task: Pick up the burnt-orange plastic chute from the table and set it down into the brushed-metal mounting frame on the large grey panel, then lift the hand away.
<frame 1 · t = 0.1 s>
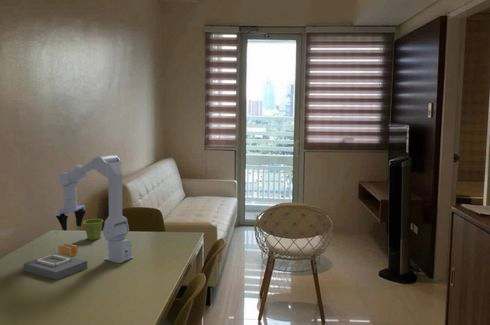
hand: (71, 228, 197), 10 cm above the table, tool pointing down, fingers open, 7 cm apart
large grey panel: (55, 269, 173), on the table
chute: (68, 254, 192), on the table
plant pot: (94, 238, 215), on the table
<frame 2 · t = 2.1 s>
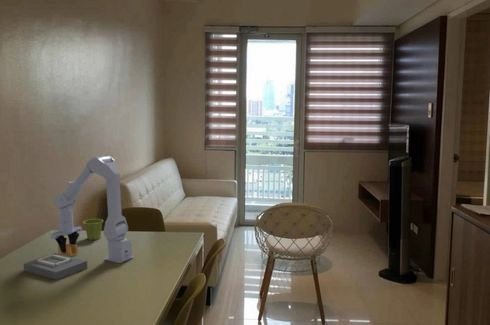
hand: (68, 250, 192), 1 cm above the table, tool pointing down, fingers closed on chute, 4 cm apart
chute: (68, 254, 192), on the table, touching gripper
everything else where it was.
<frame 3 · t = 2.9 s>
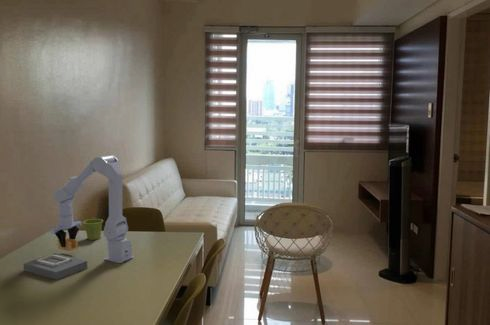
hand: (67, 245, 191), 4 cm above the table, tool pointing down, fingers closed on chute, 4 cm apart
chute: (67, 248, 191), point 2 cm above the table, touching gripper
everything else where it was.
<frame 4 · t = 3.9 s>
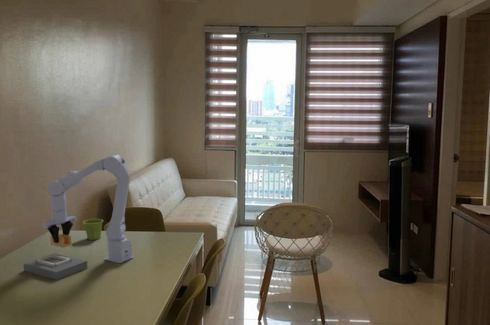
hand: (61, 241, 182), 8 cm above the table, tool pointing down, fingers closed on chute, 4 cm apart
chute: (61, 244, 183), point 7 cm above the table, touching gripper
everything else where it was.
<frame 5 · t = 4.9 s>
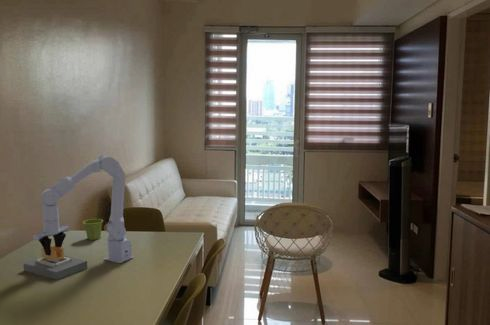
hand: (53, 253, 173), 6 cm above the table, tool pointing down, fingers closed on chute, 4 cm apart
chute: (53, 257, 173), point 5 cm above the table, touching gripper
everything else where it was.
when the fingers open (6 cm above the table, at t = 5.8 s): chute drops 1 cm, resting on large grey panel.
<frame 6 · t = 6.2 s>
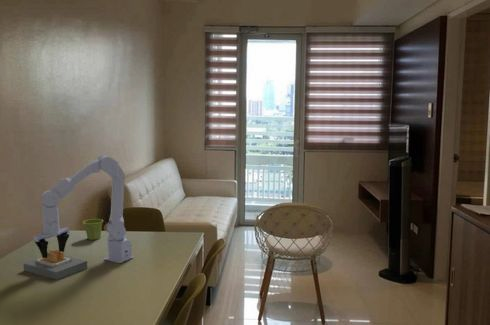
hand: (53, 254, 173), 6 cm above the table, tool pointing down, fingers open, 7 cm apart
chute: (53, 261, 173), point 3 cm above the table, touching large grey panel
everything else where it was.
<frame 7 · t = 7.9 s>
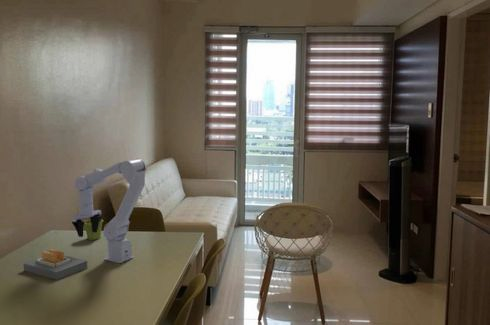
hand: (87, 234, 189), 9 cm above the table, tool pointing down, fingers open, 7 cm apart
nothing on the table moved.
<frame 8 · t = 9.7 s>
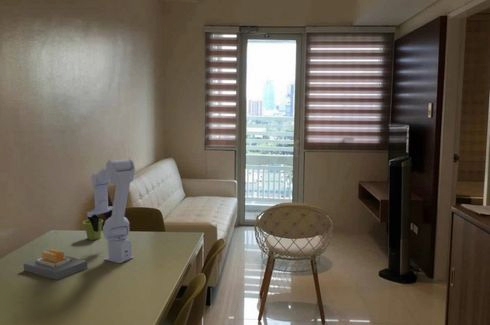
hand: (102, 229, 196), 9 cm above the table, tool pointing down, fingers open, 7 cm apart
nothing on the table moved.
at the end: chute 0.3 cm from the target spot on the large grey panel, point 3.0 cm above the large grey panel's base; chute tilted 0°; the gripper is holding nothing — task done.
